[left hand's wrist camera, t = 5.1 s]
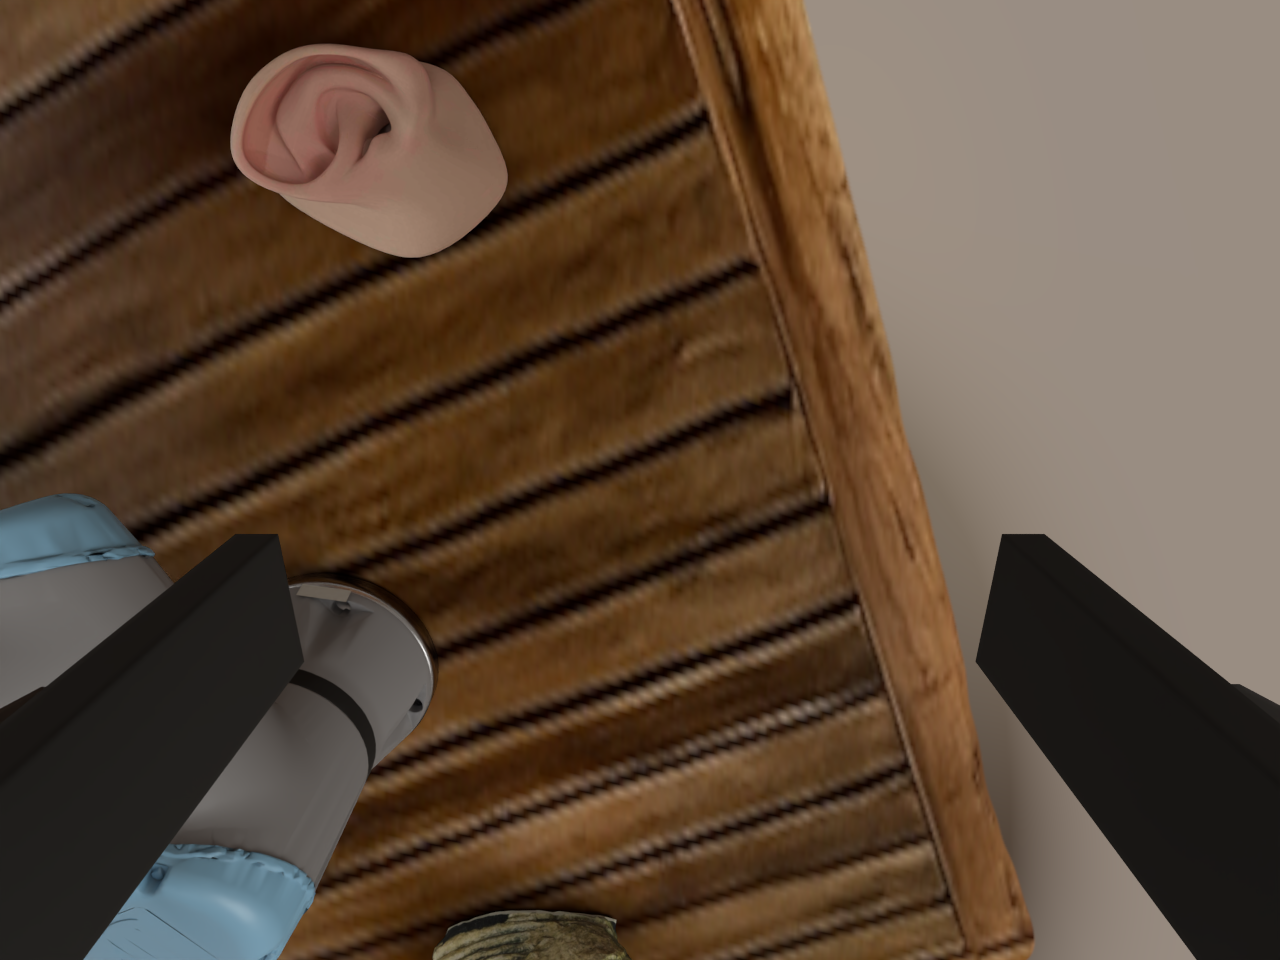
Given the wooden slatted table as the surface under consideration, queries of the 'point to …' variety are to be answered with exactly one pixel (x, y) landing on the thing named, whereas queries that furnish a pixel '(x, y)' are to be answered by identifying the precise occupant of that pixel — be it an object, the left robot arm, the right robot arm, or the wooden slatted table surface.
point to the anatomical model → (370, 146)
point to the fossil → (532, 937)
